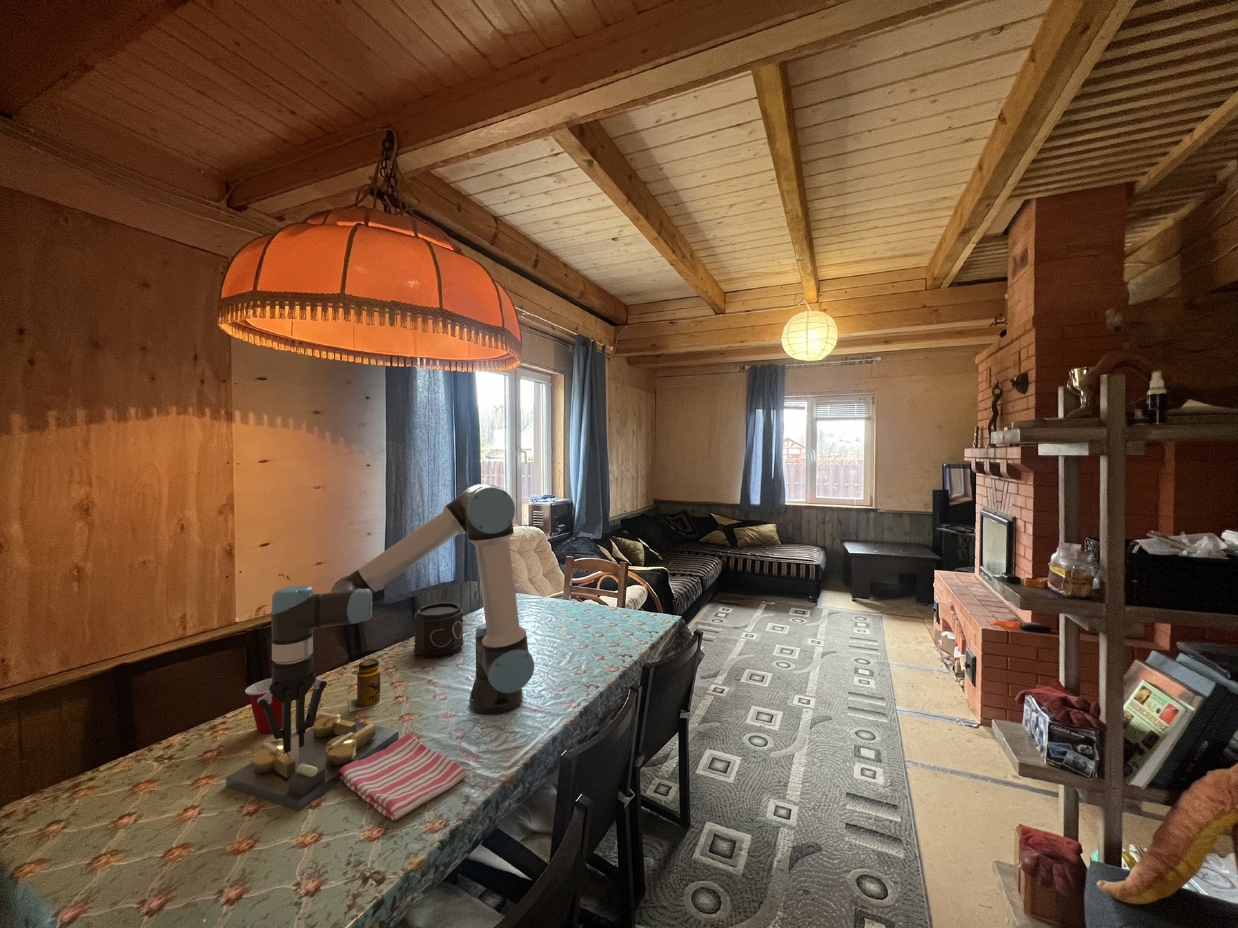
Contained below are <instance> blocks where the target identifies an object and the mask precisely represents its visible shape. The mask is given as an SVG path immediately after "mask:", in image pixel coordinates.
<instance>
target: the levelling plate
mask: <svg viewBox="0 0 1238 928" xmlns="http://www.w3.org/2000/svg"><path fill="white" fill-rule="evenodd" d="M341 719H342V720H346V721H350V722H354V723H356V732H358V731H359V730H361V729H362V728H364V727H365V726H367V725H369V724H370V723H366V722H361V721H357V720H353V719H349V718H344V717H341ZM338 736H341V735H338V734H332V735H329V736H325V737H316V736H314V735H313V727H311V729H310V728H309V730H308V729H307V731H305V734H304V746H303V747H300V748H299V765H300V764H307V765H311V764H312V765H316V766H319V767H323V768H325V780H323V781H322V782H320V783H319V784H318V785H316V786H315V787H313V788H312V789H310V790H309V791H307V792H306V793H305V794H303V795H301V794H298V793H295V792H292V791H289V778H291V777H293V776H294V775H296V774H297V767H298V766H299V765H297V766H295V774H293V775H291V776H290V777H288V778H286V777H284V776H283V775H281V774H280V773H278V772H277V771H275V770H272V771H268V772H262V773H259V772H255V771H254V761H252V762H249V764H247V765H245V766H244V767H241V768H240V769H238V770H236V771H234V772H233V773H230V774H229V775H227V776H226V777H225V787H227V788H229V787H230V789H233V790H236V791H238V792H242V793H244V794H248V795H250V796H254V797H256V798H260V799H263V800H265V801H269V802H272V803H274V804H277V805H281V806H283V807H287V808H290V809H292V810H295V811H298V812H299V811H301V810H302V809H303V808H305V807H307V806H308V805H309V804H311V803H313V801H315V800H316V799H318V798H319V797H320V796H322V795H323V794H324V793H326V792H327V791H328V790H330V789H332V788H333V787H334V786H336V785H337V784H338V783H340V782H341V781H342V780H341V779H340V776H341V775H342V774H341V773H340V772H339V770H340V769H341V768H342V767H343V766H344V765H347V764H349V763H352V762H355V761H358V760H362V759H365V758H367V757H369V756H371V755H373V754H375V753H377V752H379V751H382V750H384V749H386V748H387V747H388V746H390V745H391V744H393V743H394V742H396V741H398V740H399V730H395V729H391V728H388V727H387V728H386V727H382V726H379V725H375V736H374V737H373V738H371V739H370V740H368V741H367V742H365V743H364V744H362V745H361V746H359V747H358V748H356V755H355V757H354V758H353V759H352V760H350V761H348V762H346V763H344V764H340V765H328V764H327V763H326V744H327V743H328V742H329V741H330V740H332V739H333V738H335V737H338ZM287 756H288V757H289V752H287Z"/></svg>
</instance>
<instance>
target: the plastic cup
mask: <svg viewBox="0 0 1238 928" xmlns="http://www.w3.org/2000/svg"><path fill="white" fill-rule="evenodd" d="M271 684H272V677H271V678H266V679H264V680H261V681H258V682H256V683H253V684H251V685H249V686H248V687H246V689H244V692H245V693H246V695H247V696H248V699H249V702H250V705H251V710H252V714H253V719H254V722H255V725H256V730H257V733H259V734H262V735H266V734H272V731H271V728H270V725H269V723H268V720H267V717H266V714H265V711H264V709H263V708H262V707H260V706H259V704H258V702H257V698H258V697H260V696H264V695H265V694H266V693H267V692H268V691H269V688H270V686H271ZM271 699H272V702H271V703H270V705H271V707H272V709H273V712H274V715H275V718H276V721H277V724H278V727H279V730H282V702H280V701H279V700H278V699H277V698H276V697H274V696H272V698H271Z"/></svg>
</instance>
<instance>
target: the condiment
mask: <svg viewBox="0 0 1238 928" xmlns="http://www.w3.org/2000/svg"><path fill="white" fill-rule="evenodd" d="M356 689H357V690H356V695H357V696H356V699H355V698H354V699H350V700H347V704H348V709H349V711H348V712H349V713H352V712H356V711H360V710H364V709H368V708H372V707H378V706H380V705H383V704H384V702H383V700H382V695H381V668H380V661H379V659H377V658H367V659H364V660H362V661H360V662H359V663H358V672H357V676H356Z"/></svg>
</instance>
